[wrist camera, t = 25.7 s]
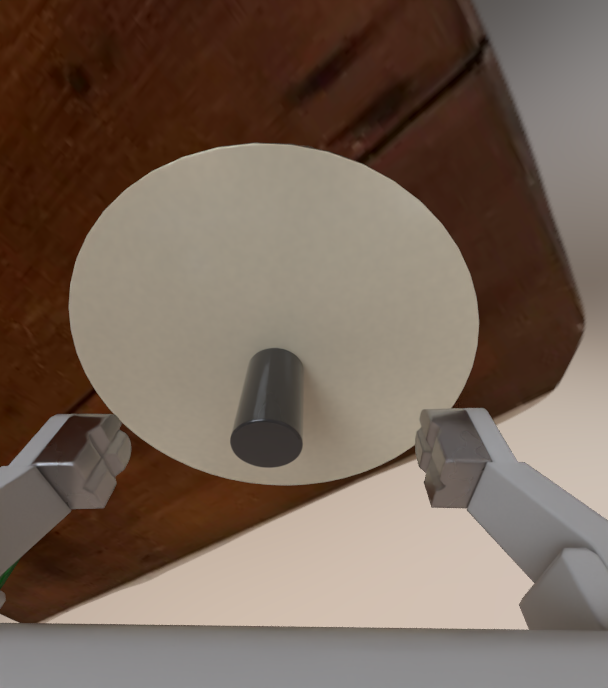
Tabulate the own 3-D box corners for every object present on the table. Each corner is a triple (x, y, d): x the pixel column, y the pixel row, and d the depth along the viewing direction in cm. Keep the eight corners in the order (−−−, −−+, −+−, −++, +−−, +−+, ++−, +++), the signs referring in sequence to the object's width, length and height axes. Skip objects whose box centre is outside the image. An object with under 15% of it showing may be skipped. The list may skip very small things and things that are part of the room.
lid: (525, 131, 10) (678, 139, 6) (429, 467, 20) (463, 563, 15) (1, 150, 11) (-199, 169, 6) (149, 470, 20) (107, 564, 16)
